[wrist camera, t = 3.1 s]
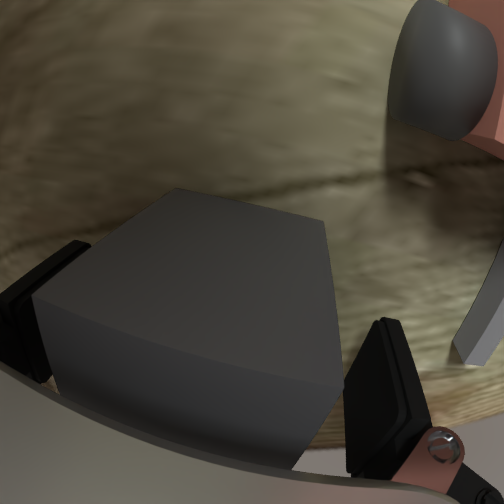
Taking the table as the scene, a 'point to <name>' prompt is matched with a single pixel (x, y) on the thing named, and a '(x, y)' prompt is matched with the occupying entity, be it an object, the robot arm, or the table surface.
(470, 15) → the toy tractor cart
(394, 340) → the robot arm
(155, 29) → the table surface
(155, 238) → the dark grey rounded cube
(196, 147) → the table surface
